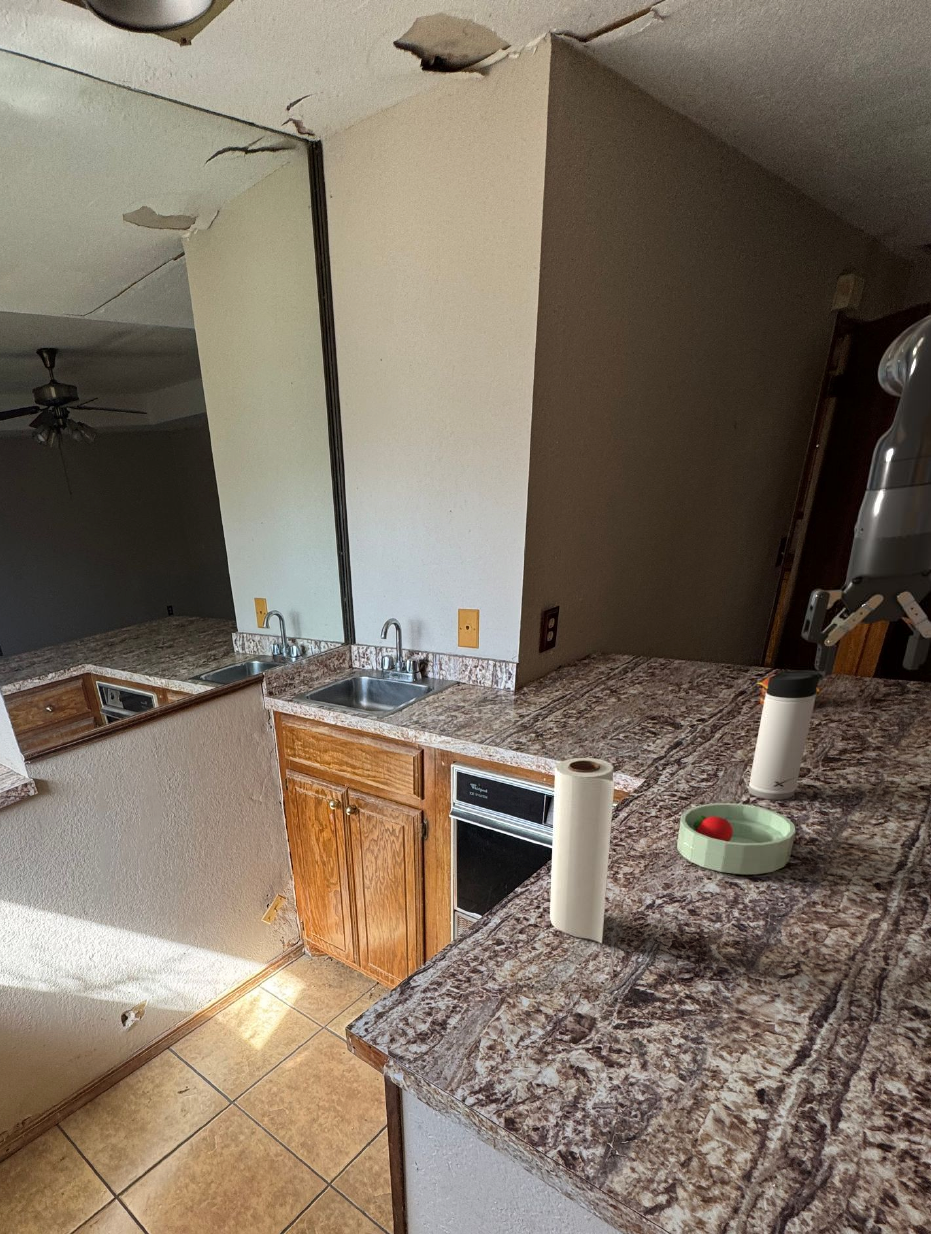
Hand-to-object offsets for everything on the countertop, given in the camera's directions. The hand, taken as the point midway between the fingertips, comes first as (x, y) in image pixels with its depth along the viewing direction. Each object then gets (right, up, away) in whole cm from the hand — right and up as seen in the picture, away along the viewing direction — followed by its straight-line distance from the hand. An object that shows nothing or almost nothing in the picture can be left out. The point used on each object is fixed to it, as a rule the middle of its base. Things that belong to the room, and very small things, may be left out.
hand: (866, 671), depth 80 cm
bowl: (-10, -23, +11) cm, 27 cm away
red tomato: (-10, -21, +11) cm, 26 cm away
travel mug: (+7, -14, +26) cm, 30 cm away
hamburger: (+35, +9, +61) cm, 71 cm away
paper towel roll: (-36, -32, +1) cm, 48 cm away
